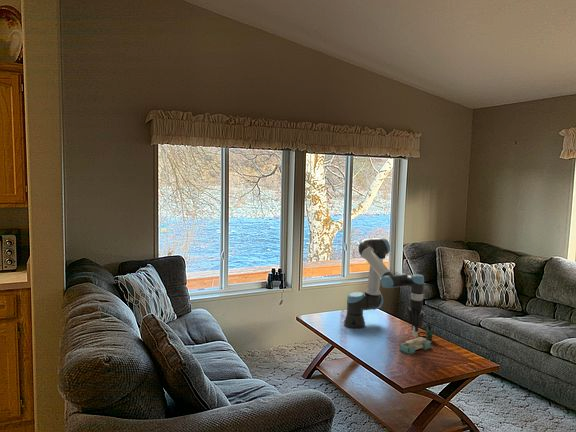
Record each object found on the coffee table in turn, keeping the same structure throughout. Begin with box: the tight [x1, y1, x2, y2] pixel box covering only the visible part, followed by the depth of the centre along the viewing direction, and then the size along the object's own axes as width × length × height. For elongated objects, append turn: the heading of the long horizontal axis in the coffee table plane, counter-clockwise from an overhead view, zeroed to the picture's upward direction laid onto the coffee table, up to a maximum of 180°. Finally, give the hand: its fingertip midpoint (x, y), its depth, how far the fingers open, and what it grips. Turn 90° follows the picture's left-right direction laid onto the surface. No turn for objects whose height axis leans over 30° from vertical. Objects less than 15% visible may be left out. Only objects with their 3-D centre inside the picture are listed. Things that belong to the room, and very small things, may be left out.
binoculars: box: [417, 323, 434, 343], centre depth 288 cm, size 9×11×10 cm
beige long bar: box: [404, 336, 426, 351], centre depth 272 cm, size 4×16×5 cm, turn 127°
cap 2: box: [421, 339, 432, 350], centre depth 277 cm, size 8×6×4 cm
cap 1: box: [399, 342, 416, 355], centre depth 268 cm, size 8×6×4 cm
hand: (414, 335), depth 273 cm, fingers closed
